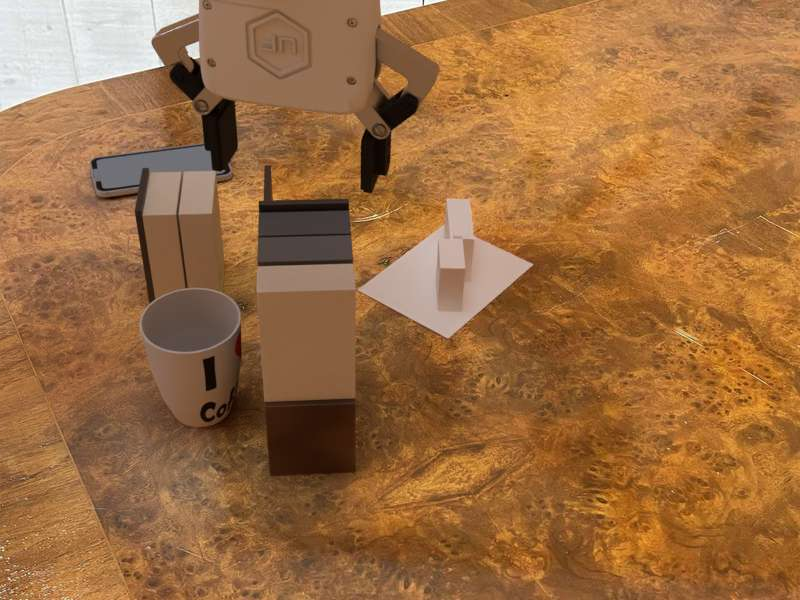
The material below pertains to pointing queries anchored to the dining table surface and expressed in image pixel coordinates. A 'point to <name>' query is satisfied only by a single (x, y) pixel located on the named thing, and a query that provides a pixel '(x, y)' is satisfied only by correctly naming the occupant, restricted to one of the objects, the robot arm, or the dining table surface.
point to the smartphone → (126, 169)
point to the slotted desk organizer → (182, 230)
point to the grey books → (304, 232)
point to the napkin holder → (447, 275)
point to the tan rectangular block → (307, 331)
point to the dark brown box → (311, 436)
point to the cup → (194, 352)
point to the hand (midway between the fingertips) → (297, 170)
